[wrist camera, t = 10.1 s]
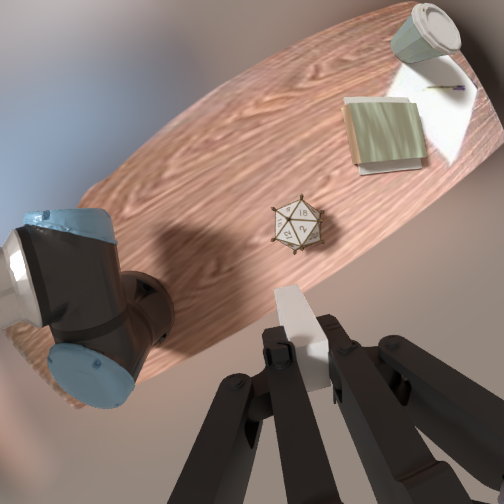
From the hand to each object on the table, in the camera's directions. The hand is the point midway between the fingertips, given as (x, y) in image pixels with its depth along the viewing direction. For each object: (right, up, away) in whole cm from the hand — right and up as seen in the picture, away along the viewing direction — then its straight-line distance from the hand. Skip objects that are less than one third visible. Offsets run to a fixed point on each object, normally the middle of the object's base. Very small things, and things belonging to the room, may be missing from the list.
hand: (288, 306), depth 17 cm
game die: (+5, +8, +29) cm, 30 cm away
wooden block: (+14, +22, +23) cm, 35 cm away
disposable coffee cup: (+28, +44, +21) cm, 56 cm away
